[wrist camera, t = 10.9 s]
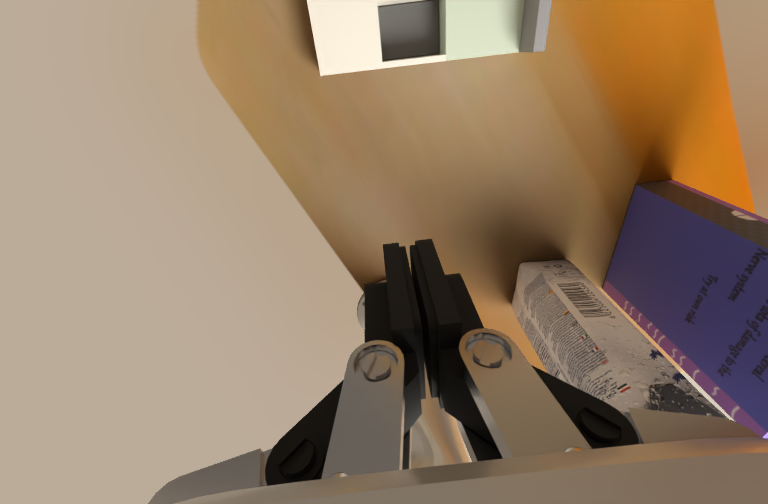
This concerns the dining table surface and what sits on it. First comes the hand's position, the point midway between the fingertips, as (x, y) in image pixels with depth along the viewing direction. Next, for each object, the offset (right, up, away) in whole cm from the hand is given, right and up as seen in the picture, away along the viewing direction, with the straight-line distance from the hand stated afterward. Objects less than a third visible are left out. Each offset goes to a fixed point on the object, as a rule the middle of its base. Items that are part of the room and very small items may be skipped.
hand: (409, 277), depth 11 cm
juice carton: (+23, -4, +39) cm, 45 cm away
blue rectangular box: (+35, +3, +35) cm, 50 cm away
